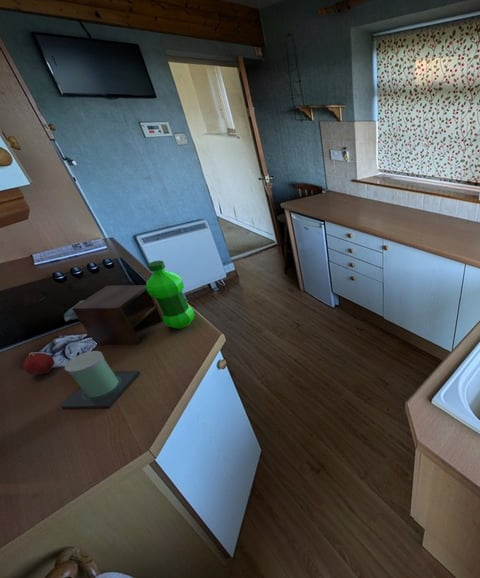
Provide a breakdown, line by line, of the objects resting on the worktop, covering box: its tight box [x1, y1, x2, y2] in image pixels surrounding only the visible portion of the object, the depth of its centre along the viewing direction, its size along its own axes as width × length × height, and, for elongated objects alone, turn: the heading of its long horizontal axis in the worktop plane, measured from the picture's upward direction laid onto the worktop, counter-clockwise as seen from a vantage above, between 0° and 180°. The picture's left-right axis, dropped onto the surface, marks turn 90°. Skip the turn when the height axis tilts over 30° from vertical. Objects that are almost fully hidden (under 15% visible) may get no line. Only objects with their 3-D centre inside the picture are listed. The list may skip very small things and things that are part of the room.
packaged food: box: [63, 299, 85, 322], centre depth 111 cm, size 9×12×5 cm
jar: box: [64, 350, 119, 398], centre depth 79 cm, size 7×7×10 cm
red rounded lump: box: [22, 352, 55, 375], centre depth 85 cm, size 6×6×8 cm
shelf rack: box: [71, 284, 163, 346], centre depth 100 cm, size 14×14×15 cm
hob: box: [60, 370, 141, 410], centre depth 82 cm, size 12×12×1 cm
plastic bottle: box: [145, 260, 195, 330], centre depth 101 cm, size 10×10×25 cm
